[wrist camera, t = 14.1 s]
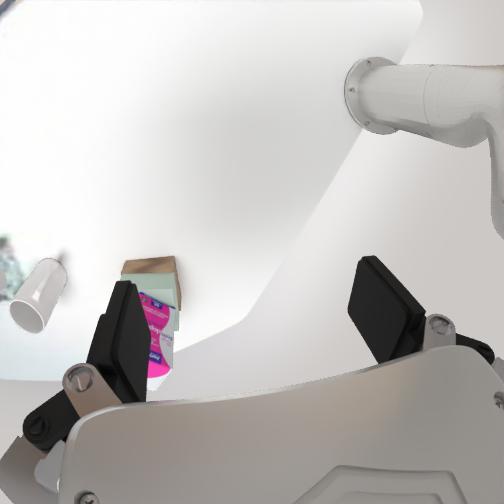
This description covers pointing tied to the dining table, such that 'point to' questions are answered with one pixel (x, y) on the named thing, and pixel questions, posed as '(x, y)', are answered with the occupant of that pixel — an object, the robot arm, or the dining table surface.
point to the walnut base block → (154, 269)
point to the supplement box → (159, 339)
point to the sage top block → (157, 288)
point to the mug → (38, 296)
